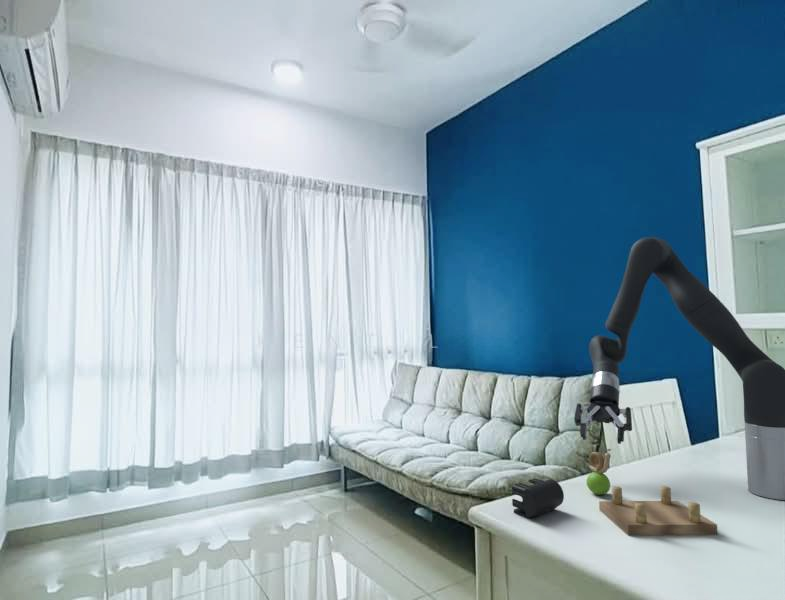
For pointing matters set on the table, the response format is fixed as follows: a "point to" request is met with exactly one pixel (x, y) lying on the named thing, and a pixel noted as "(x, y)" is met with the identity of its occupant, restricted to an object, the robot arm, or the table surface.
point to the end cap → (537, 497)
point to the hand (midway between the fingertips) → (601, 440)
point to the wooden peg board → (656, 516)
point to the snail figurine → (599, 473)
